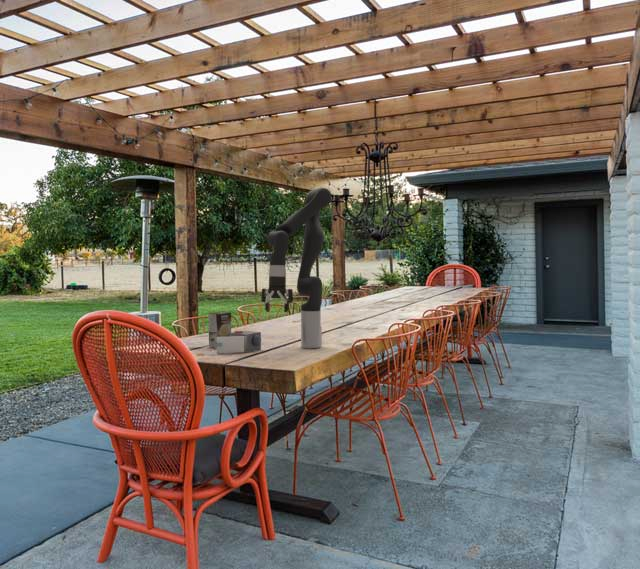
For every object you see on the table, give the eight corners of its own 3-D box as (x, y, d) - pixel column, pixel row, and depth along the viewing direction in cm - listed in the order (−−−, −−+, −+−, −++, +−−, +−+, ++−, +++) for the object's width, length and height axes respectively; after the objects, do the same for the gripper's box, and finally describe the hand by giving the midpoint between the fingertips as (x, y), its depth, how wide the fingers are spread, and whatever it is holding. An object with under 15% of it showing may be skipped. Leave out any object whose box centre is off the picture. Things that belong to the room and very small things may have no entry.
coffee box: (218, 348, 261) (217, 314, 260) (208, 347, 265) (207, 313, 264) (232, 345, 269) (231, 312, 268) (222, 344, 272) (221, 311, 271)
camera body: (244, 347, 263) (244, 328, 263) (263, 349, 257) (263, 330, 256) (230, 350, 255) (230, 331, 255) (249, 352, 249) (249, 333, 248)
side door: (216, 352, 248) (216, 336, 248) (246, 351, 249) (246, 335, 249) (216, 353, 247) (216, 336, 246) (246, 352, 248) (246, 336, 248)
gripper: (295, 276, 252) (294, 312, 252) (265, 275, 256) (265, 311, 256) (289, 275, 245) (288, 312, 245) (259, 275, 249) (258, 311, 249)
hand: (276, 312), depth 250 cm, fingers open, 8 cm apart
